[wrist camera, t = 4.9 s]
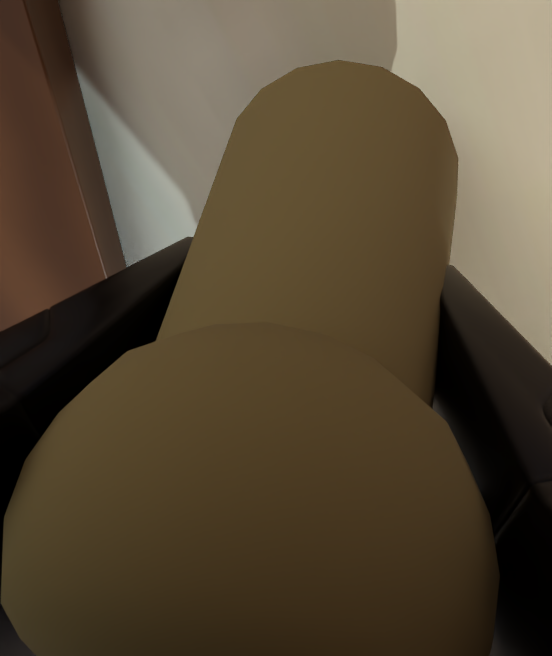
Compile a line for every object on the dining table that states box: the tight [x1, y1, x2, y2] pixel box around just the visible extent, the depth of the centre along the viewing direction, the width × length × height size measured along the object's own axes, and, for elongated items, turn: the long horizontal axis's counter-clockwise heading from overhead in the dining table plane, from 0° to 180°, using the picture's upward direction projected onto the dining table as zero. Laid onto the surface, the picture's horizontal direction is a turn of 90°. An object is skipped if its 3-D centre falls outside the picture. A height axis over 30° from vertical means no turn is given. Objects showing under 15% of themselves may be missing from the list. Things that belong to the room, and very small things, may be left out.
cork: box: [1, 60, 500, 656], centre depth 8 cm, size 6×6×11 cm
